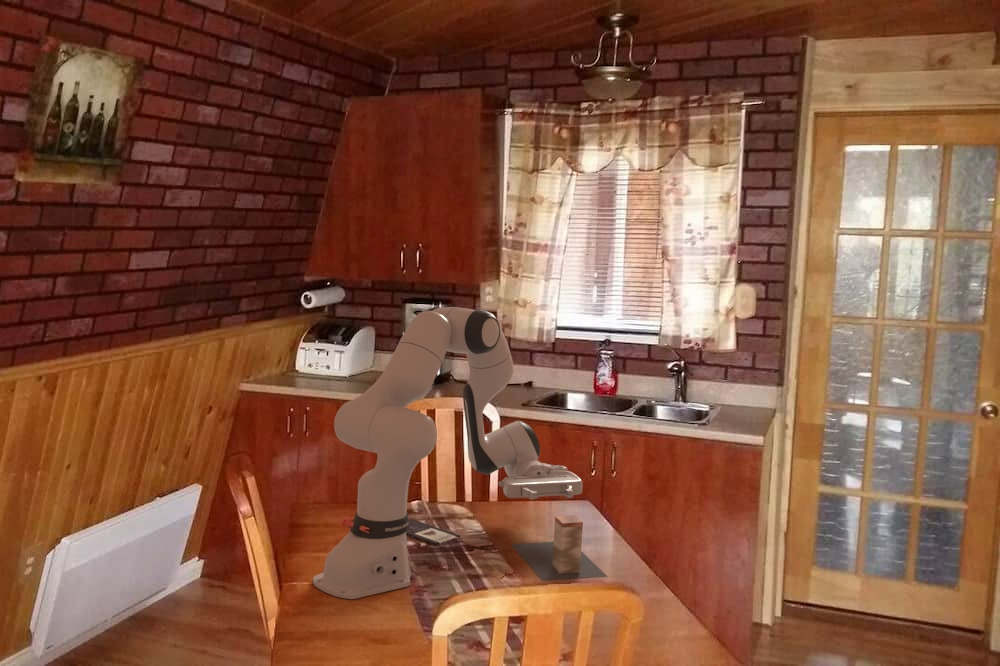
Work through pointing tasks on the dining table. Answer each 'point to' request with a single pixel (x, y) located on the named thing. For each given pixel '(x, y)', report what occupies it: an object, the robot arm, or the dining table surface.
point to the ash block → (567, 544)
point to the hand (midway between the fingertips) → (552, 495)
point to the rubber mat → (542, 558)
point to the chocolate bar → (428, 532)
